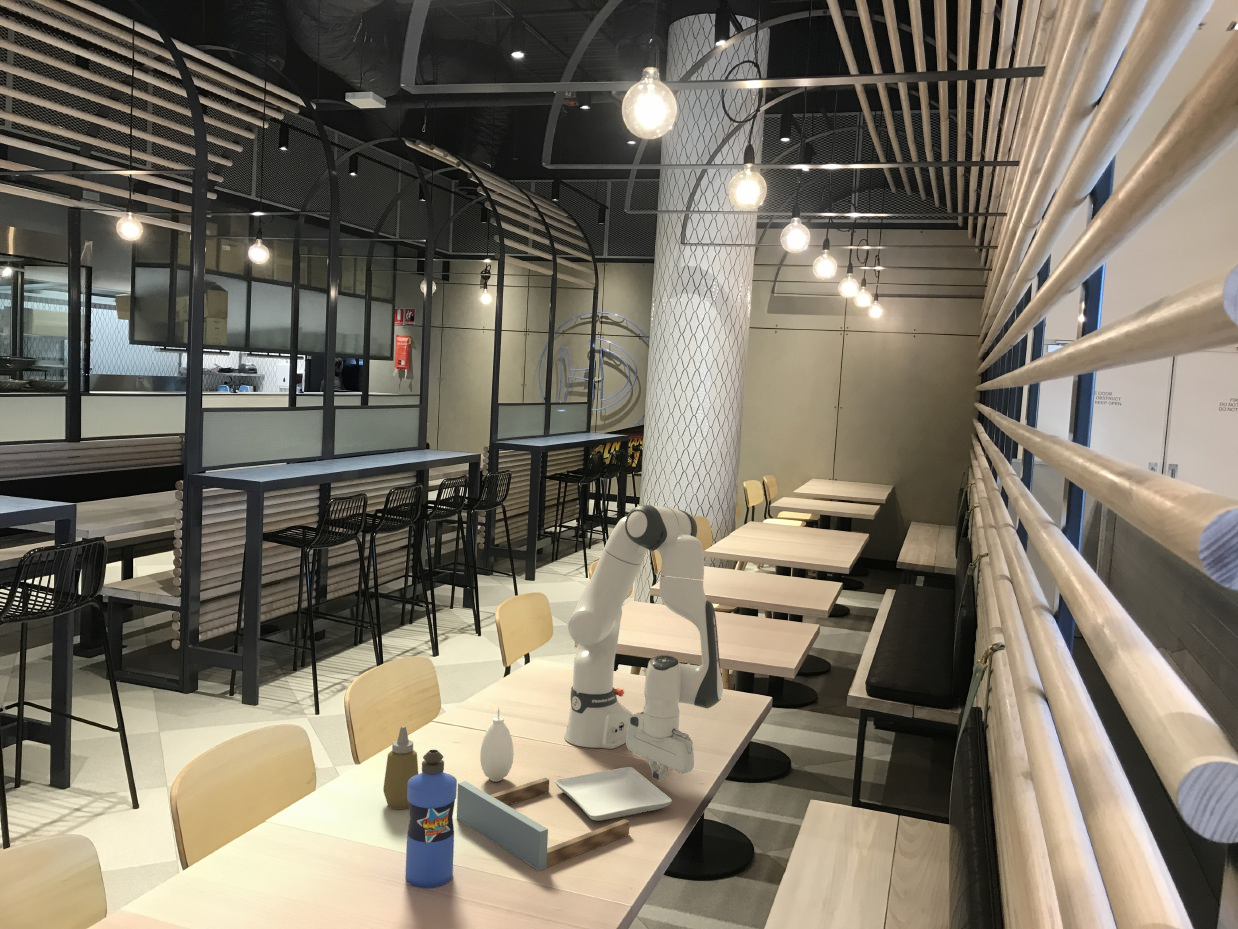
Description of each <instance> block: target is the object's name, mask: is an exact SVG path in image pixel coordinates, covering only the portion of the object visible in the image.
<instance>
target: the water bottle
mask: <svg viewBox="0 0 1238 929" xmlns="http://www.w3.org/2000/svg"><path fill="white" fill-rule="evenodd" d="M422 759H423V761H421V773H418V775H415V776H413V777H411V778H410V779H409V780H408V790H407V799H408V804H409V808H408V813H409V815H408V816H409V822H408V827H407V832H406V849H405V850H406V851H405V853H406V854H405V880H406V883H408V884H409V885H410V886H412V887H416V888H420V889H433V888H438V887H441V886H444V885H446V884H448V883H449V882H451V880H452V879H453V875H454V874H453V872H454V852H455V851H454V848H455V847H454V846H455V829H454V819H453V817H454V816H453V815H454V809H455V802H456V799H457V792H458V780H457V778H456V777H455V776H454V775H452V774H450V773H446V772H444V771H445V761H444V760H443V759H444V755H443V754H442V753H441V751H439V750H438V749H430V750H428V751H427V752H426V753H425V754H424V755H423V756H422Z"/></svg>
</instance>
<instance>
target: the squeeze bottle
mask: <svg viewBox="0 0 1238 929" xmlns="http://www.w3.org/2000/svg"><path fill="white" fill-rule="evenodd" d="M399 728H400V729H399V732H398V736H397V739H396V740H394V741H393V742H392V743H391V744H392V746H391V747H392V748H391V749H392V750H391V751H390V752H388V753H387V760H386V766H385V774H384V780H383V782H384V783H383V794H384V798H385V801H386V803H387V806H388V807H389V808H390V807H391V809H394V810H405V808H406V809H409V804H408V799H407V790H408V780H409V779H410V778H411V777H413V776H415V775H418V774H419V764H418V761H419V760H418V754H417V753H418V752H417V751H415V750H414V742H413V741H412V740H410V739H409V736H408V730H407V726H405V725H404V726H402V725H401V726H400V727H399Z"/></svg>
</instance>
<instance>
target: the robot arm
mask: <svg viewBox="0 0 1238 929" xmlns="http://www.w3.org/2000/svg"><path fill="white" fill-rule="evenodd" d="M697 534H698V524H697V522H696V520H695V517H694V516H692V515H691V514H690V513H688V512H686V511H685V510H682V509H676V508H674V507H669V506H663V505H662V506H661V505H660V506H658V505H651V504H642V505H637V506H636V507H633V508H632V509H631V510H630V511H629V512H628V514H627V516H624V517H622V518H620V519H619V521H617V524H616V525H615V526H614V528H613V529H612V530H611V533H610V535H609V537H608V539H607V540H606V543H605V545H604V548H603V550H602V552H601V554H600V557H599V558H598V561H597V564H596V566H595V569H594V572H592V575H591V577H590V579H589V581H588V583H587V584H586V586H585V588H584V590H583V591H582V594H581V595H580V597H579V599H578V601H577V604H576V606H575V607H574V610H573V611H572V614H571V616H570V617H569V620H568V625H567V630H568V633H569V636H570V637H571V639H572V640H573V641H574V642H575V643H577V649H576V651H575V655H574V657H573V674H572V686H571V688H570V709H569V710H570V711H569V717H568V723H567V725H566V730H565V733H564V740H565V741H566V742H567V743H570V744H572V745H574V746H578V747H582V748H593V749H595V748H602V749H609V750H612V749H613V750H614V749H616V748H619V747H620V746H622V745H626V748H627V750H628V751H630V752H632V753H634V754H636V755H638V756H641V757H643V758H645V759H648V760H647V761H648V765H649V767H650V771H651V778H652V779H655V780H657V781H660V782H662V781H664V780H665V779H666V773H667V771H668V770H669V769H670V770H673V771H675V772H677V773H680V774H683V775H684V774H688V773H689V772H690V773H691V772H692V770H694V767H695V755H694V754H695V753H694V745H693V744H694V742H693V740H692V739H691V737H690V736H689V734H688V733H686V732H683V731H680V730H679V729H680V706H679V704H686V705H694V706H695V707H699V708H703V709H707V710H708V709H709V708H712V707H714V706H715V705H717V704H718V703H719V702H720V701H721V700H722V696H723V693H724V682H723V676H722V670H721V665H720V653H719V652H720V651H719V650H720V649H719V638H718V637H719V636H718V627H717V626H718V625H717V616H716V611H715V608H714V607H715V606H714V605H713V602H711V601H710V600H708V598H707V596H706V593H705V589H704V580H705V579H704V577H705V558H704V556H705V555H704V545H703V543H702V541H701V540H700V539H699V538H697ZM656 550H657V552H658V553H659V555H660V557H661V568H660V578H659V596H660V599H661V601H662V603H663V604H664V606H666V608H668V610H670V611H671V612H673V613H675V614H676V615H678V616H679V617H680V616H681V617H682V618H684V619H685V620H686V621H687V620H688V621H689V622H690V623H692V624H693V625H694V626H695V627H696V629H697V630H698V632H699V638H700V639H699V640H700V650H701V651H700V652H701V653H700V654H701V665H696V664H688V663H681V662H680V661H679V660H678V658H676V657H674V656H671V655H666V654H663V655H662V654H661V655H657V656H656V655H655V656H654V657H652V658H651V659H650V660H648V663H647V669H646V673H645V683H644V691H643V693H644V698H645V704H644V706H643V711H639V712H636V713H632V712H633V711H631V710H630V708H628V707H627V706H626V705H625V704H622V702H620V701H619V700H618V698H617V696H618V697H624V695H625V690H624V689H623V688H620V687H616V688H615V687H614V673H615V671H614V670H615V660H616V654H617V648H618V641H619V636H620V629H621V621H622V616H623V608H622V606H623V605H624V602H625V600H626V599H627V597H628V594H629V593H630V592H631V589H632V587H633V585H634V583H635V581H636V579H637V578H636V577H637V575H638V574H639V571H640V568H641V567H642V564H643V561H644V559H645V557H646V554H647V552H648V551H650V552H654V551H656ZM658 765H659V766H658ZM659 768H660V769H659Z"/></svg>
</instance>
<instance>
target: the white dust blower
mask: <svg viewBox="0 0 1238 929" xmlns="http://www.w3.org/2000/svg"><path fill="white" fill-rule="evenodd" d="M509 730H510V729H509V728H508V726H507V724H506V723H505V720H504V718H502V717H500V707H499V708H497V717H493V719H492V722H491V723H490V724H489V726H488V727H487V730H486V731H485V734H484V736H483V738H482V741H481V746H480V755H479V756H480V757H479V758H480V766H481V770H482V771H483V774H484V776H486V777H487V778H488V779H489V780H490V781H492V782H496V783H498V782H500V781H502V780H503V779H504V778H506V777H507V776H508V775H509V773H510V771H511V769H512V766H513V763H514V755H515V754H514V744H513V739H512V734H511V733H510V731H509Z"/></svg>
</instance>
